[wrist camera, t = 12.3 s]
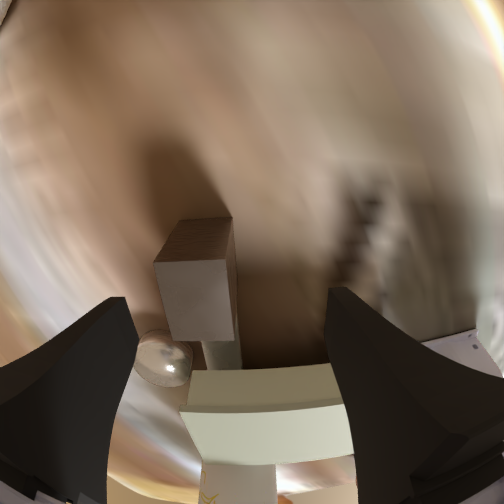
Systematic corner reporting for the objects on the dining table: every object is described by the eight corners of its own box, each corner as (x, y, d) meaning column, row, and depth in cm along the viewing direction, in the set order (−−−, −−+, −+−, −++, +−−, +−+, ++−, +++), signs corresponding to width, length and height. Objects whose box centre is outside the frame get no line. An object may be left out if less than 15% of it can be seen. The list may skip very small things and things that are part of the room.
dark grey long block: (232, 217, 19) (225, 259, 13) (246, 377, 25) (246, 431, 20) (179, 220, 19) (153, 262, 13) (210, 378, 25) (203, 430, 20)
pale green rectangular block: (387, 322, 23) (422, 386, 16) (366, 389, 27) (385, 446, 20) (194, 336, 23) (179, 411, 16) (211, 402, 27) (205, 464, 20)
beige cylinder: (209, 410, 28) (199, 508, 17) (281, 417, 29) (288, 512, 18) (203, 440, 31) (195, 519, 20) (264, 446, 32) (267, 524, 21)
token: (185, 327, 23) (180, 347, 21) (199, 367, 25) (196, 387, 23) (132, 329, 23) (123, 347, 21) (150, 368, 25) (144, 386, 23)
